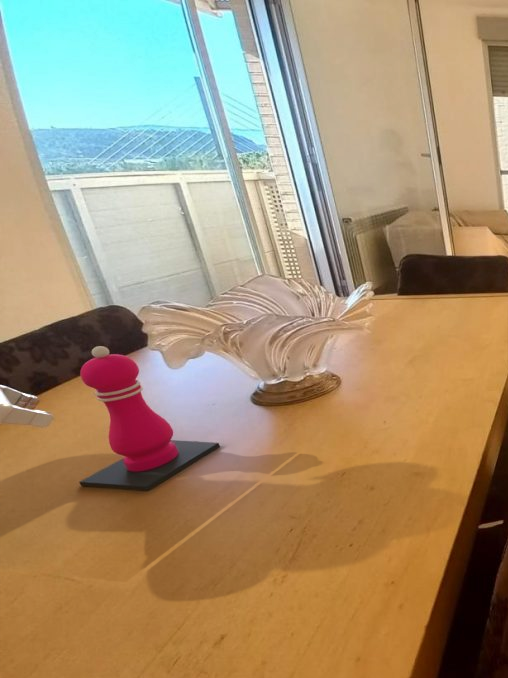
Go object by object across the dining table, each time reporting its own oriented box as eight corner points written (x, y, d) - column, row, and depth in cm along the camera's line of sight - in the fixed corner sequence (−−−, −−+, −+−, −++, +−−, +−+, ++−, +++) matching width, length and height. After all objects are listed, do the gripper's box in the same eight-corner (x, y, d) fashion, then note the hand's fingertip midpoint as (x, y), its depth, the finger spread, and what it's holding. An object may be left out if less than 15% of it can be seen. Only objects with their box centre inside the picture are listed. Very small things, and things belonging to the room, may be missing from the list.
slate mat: (81, 486, 73) (78, 481, 72) (160, 443, 84) (158, 439, 83) (148, 491, 71) (146, 486, 71) (220, 446, 82) (218, 442, 82)
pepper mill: (111, 471, 75) (48, 354, 67) (161, 446, 81) (109, 336, 73) (145, 476, 73) (84, 357, 65) (193, 450, 79) (144, 339, 72)
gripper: (-99, 368, 50) (76, 410, 62) (-107, 335, 61) (43, 376, 72) (-146, 422, 49) (42, 455, 60) (-146, 379, 59) (14, 414, 71)
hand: (43, 412), depth 66 cm, fingers open, 8 cm apart
